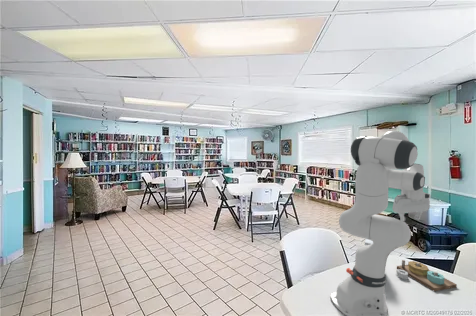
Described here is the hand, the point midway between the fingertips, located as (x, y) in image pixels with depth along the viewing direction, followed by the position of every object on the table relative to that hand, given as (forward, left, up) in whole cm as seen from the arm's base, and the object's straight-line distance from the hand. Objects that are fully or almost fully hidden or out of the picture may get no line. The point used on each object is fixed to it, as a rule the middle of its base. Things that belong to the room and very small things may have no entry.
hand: (409, 220), depth 115 cm
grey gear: (-5, -2, -29) cm, 30 cm away
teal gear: (+6, -10, -28) cm, 30 cm away
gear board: (+6, -5, -29) cm, 30 cm away
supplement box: (-16, +5, -29) cm, 34 cm away
